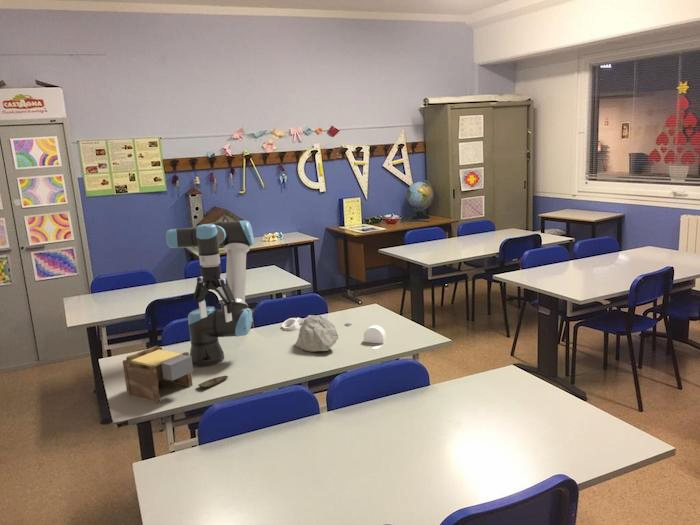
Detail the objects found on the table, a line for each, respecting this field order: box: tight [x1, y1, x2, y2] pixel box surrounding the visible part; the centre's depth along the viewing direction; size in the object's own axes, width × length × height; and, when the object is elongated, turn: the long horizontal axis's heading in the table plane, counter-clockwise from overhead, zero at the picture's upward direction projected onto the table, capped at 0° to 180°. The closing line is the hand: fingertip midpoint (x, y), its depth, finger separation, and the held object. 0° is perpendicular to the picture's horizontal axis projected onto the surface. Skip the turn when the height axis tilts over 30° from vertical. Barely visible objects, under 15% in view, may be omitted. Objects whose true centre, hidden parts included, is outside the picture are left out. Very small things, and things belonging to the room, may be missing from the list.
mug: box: [281, 317, 305, 331], centre depth 289 cm, size 12×9×10 cm
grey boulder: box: [295, 314, 339, 353], centre depth 256 cm, size 22×13×15 cm, turn 54°
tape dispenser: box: [363, 324, 387, 350], centre depth 261 cm, size 10×18×11 cm, turn 157°
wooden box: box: [122, 345, 193, 404], centre depth 221 cm, size 17×17×15 cm
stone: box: [197, 375, 229, 388], centre depth 225 cm, size 13×5×2 cm, turn 143°
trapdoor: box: [131, 349, 194, 381], centre depth 218 cm, size 13×21×6 cm, turn 57°
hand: (216, 319), depth 220 cm, fingers open, 13 cm apart
